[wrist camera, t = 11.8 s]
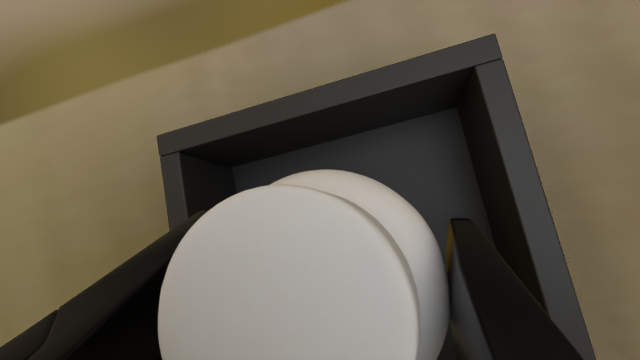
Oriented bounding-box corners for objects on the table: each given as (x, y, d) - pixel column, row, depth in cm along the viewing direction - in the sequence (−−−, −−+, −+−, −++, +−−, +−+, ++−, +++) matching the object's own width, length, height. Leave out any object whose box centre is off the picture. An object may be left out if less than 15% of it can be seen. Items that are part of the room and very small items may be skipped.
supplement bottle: (431, 194, 14) (480, 134, 5) (432, 336, 13) (489, 601, 4) (301, 192, 15) (131, 143, 6) (296, 322, 15) (97, 496, 5)
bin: (555, 385, 13) (630, 469, 8) (261, 414, 15) (203, 492, 11) (469, 87, 15) (495, 32, 10) (220, 156, 17) (155, 135, 13)
